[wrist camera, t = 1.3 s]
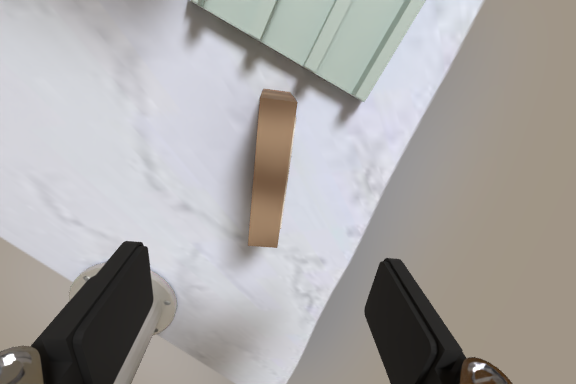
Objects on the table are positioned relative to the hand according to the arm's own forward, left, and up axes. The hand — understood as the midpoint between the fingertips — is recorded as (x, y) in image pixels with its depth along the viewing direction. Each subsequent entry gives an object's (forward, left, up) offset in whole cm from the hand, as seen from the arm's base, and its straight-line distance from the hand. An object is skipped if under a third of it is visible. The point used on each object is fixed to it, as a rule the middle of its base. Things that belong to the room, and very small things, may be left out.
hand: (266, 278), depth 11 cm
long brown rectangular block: (0, 0, -18) cm, 18 cm away
